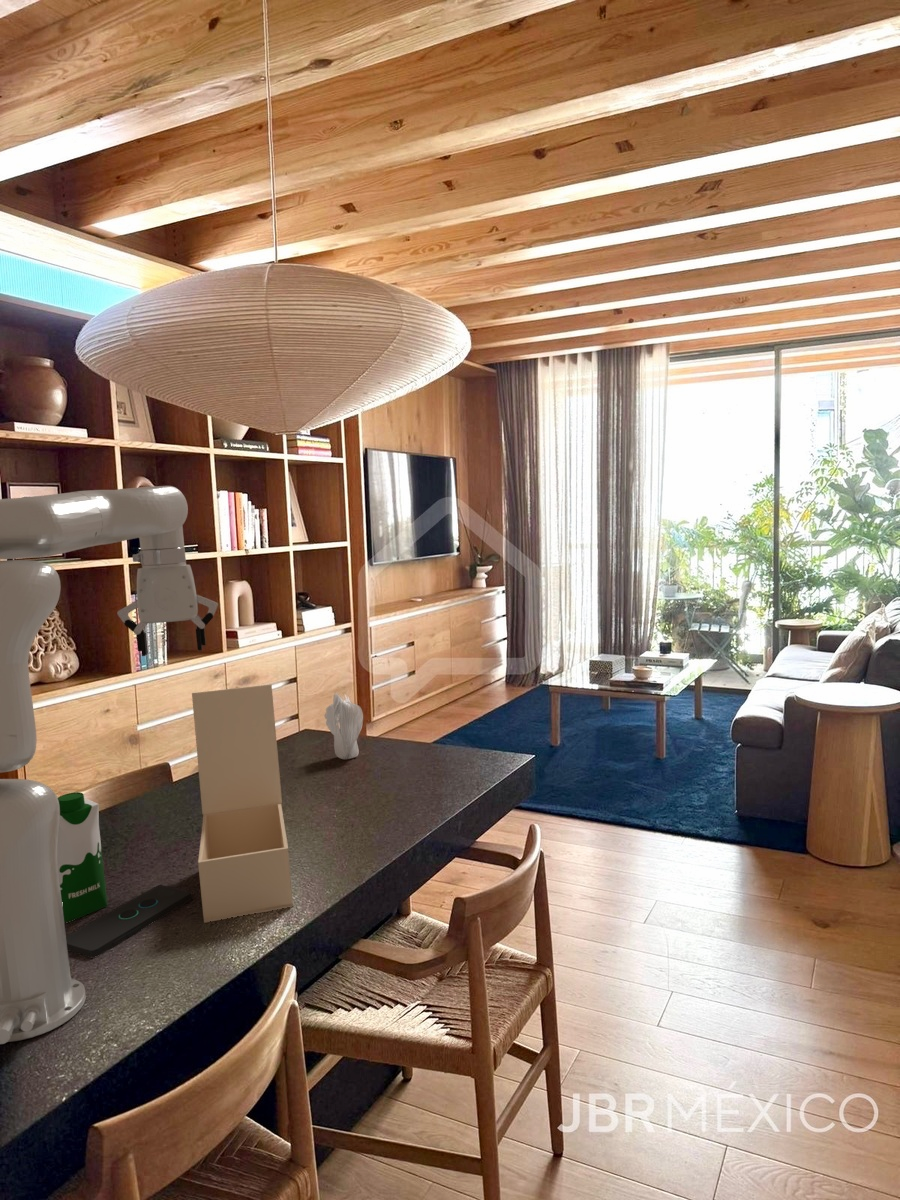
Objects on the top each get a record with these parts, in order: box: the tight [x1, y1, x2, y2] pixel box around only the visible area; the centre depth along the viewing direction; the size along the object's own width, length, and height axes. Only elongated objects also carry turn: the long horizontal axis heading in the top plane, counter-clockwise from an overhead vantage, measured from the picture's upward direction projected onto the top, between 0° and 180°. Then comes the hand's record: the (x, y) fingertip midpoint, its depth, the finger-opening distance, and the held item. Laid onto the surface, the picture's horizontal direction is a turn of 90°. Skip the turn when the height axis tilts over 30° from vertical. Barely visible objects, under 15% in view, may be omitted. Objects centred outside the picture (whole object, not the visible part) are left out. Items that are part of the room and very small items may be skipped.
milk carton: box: [57, 791, 108, 923], centre depth 135 cm, size 9×9×20 cm
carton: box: [197, 803, 294, 923], centre depth 140 cm, size 22×14×10 cm, turn 15°
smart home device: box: [66, 884, 193, 958], centre depth 130 cm, size 8×2×20 cm
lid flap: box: [191, 683, 283, 815], centre depth 154 cm, size 22×14×7 cm
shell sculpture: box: [324, 692, 364, 760], centre depth 212 cm, size 8×8×18 cm
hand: (172, 652), depth 148 cm, fingers open, 9 cm apart
